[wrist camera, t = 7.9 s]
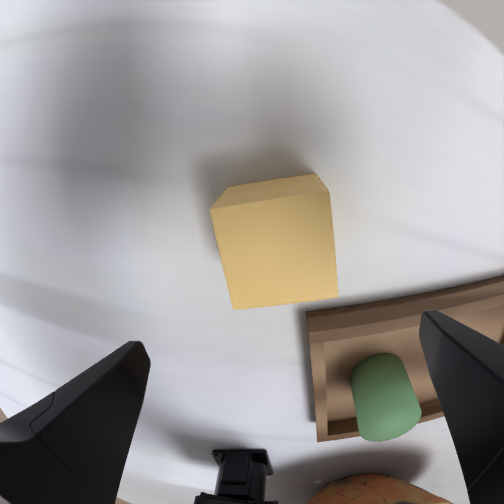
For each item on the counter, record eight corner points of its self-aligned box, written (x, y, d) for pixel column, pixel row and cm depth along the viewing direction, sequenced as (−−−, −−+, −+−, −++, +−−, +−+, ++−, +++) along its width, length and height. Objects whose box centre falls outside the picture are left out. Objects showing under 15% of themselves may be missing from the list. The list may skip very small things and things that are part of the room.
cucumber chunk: (400, 387, 24) (415, 433, 19) (349, 397, 24) (357, 446, 19) (405, 347, 22) (426, 395, 17) (349, 358, 23) (359, 410, 18)
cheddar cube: (325, 254, 21) (338, 297, 16) (244, 265, 21) (233, 309, 16) (315, 173, 18) (329, 191, 13) (228, 186, 19) (209, 209, 14)
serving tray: (486, 382, 24) (495, 397, 22) (316, 422, 27) (317, 442, 25) (520, 271, 19) (536, 284, 17) (306, 311, 22) (308, 332, 20)
